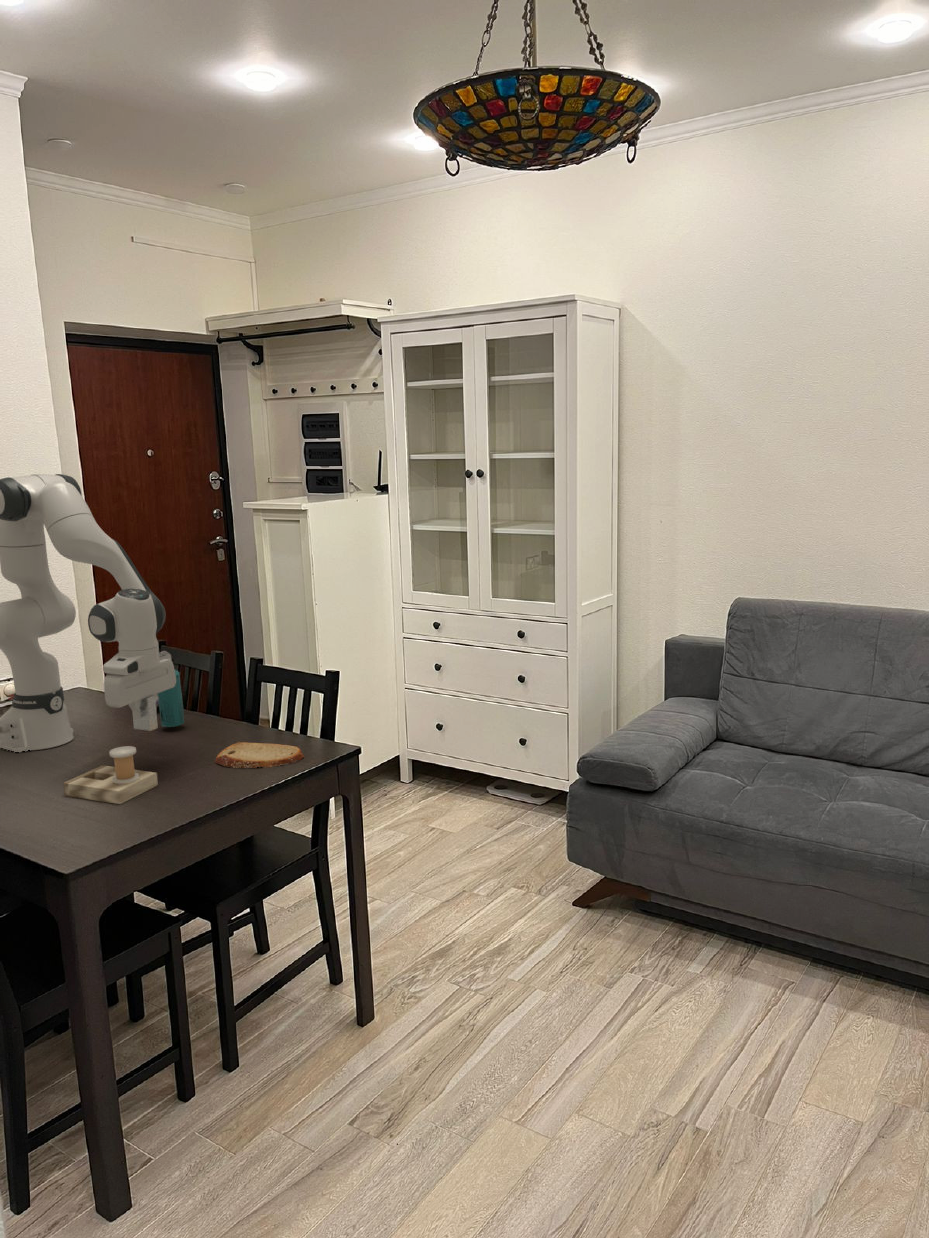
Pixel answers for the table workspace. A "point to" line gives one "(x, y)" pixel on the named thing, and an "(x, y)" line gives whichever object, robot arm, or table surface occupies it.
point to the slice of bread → (257, 755)
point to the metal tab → (147, 714)
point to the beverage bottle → (171, 704)
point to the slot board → (108, 785)
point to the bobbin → (124, 765)
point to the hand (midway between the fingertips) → (144, 715)
